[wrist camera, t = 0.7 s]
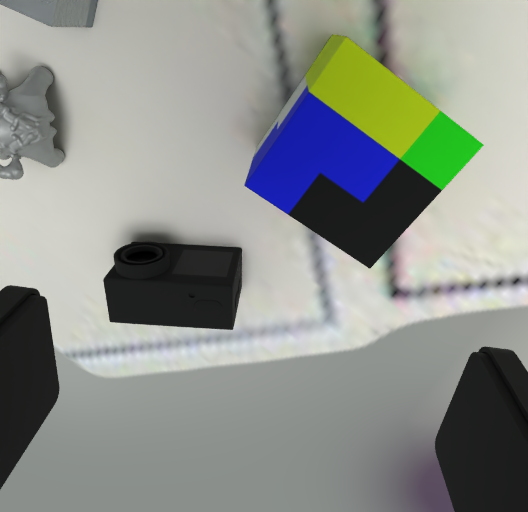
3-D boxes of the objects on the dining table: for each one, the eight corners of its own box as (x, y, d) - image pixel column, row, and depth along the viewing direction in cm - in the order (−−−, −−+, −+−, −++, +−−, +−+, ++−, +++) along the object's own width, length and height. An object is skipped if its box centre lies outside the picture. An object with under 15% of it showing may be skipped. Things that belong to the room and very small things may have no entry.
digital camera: (243, 235, 40) (233, 273, 34) (242, 287, 43) (233, 331, 36) (130, 229, 41) (100, 265, 34) (136, 280, 43) (109, 323, 37)
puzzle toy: (256, 147, 37) (244, 185, 28) (332, 34, 32) (346, 36, 24) (352, 213, 39) (369, 268, 30) (435, 115, 35) (483, 145, 26)
